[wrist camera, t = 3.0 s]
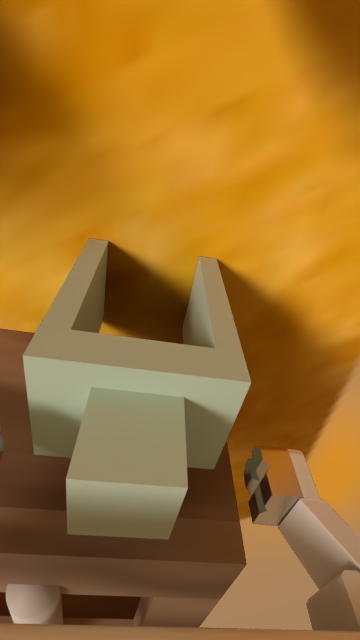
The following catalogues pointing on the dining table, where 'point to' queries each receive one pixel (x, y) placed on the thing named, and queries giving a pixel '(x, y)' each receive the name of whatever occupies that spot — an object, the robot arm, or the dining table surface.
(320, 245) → the dining table surface
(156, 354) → the green u-channel bracket
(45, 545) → the wooden frame with rod
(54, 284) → the dining table surface
